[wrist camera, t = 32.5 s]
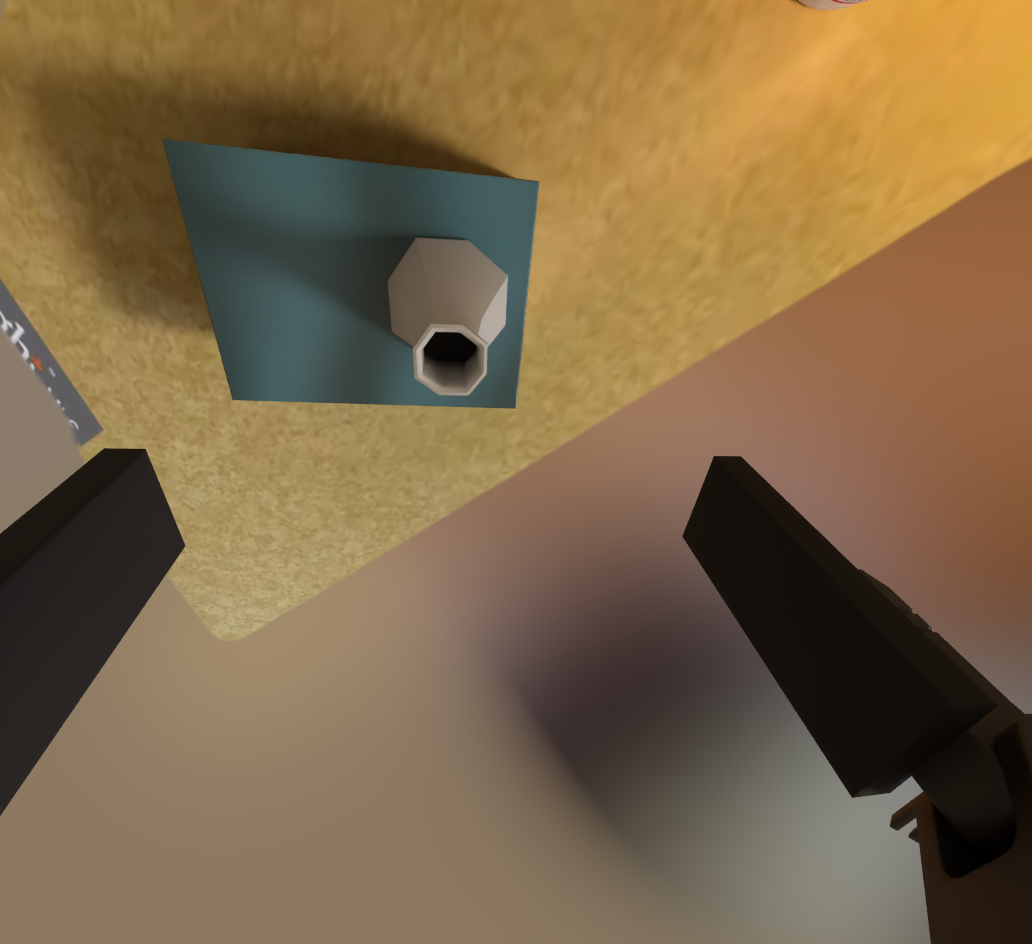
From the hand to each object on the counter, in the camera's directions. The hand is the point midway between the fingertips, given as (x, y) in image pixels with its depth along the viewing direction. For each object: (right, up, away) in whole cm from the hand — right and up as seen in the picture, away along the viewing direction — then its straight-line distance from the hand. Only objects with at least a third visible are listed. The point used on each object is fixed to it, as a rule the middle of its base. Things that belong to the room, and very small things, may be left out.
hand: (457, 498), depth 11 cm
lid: (-7, +11, +16) cm, 20 cm away
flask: (-3, +11, +16) cm, 20 cm away
